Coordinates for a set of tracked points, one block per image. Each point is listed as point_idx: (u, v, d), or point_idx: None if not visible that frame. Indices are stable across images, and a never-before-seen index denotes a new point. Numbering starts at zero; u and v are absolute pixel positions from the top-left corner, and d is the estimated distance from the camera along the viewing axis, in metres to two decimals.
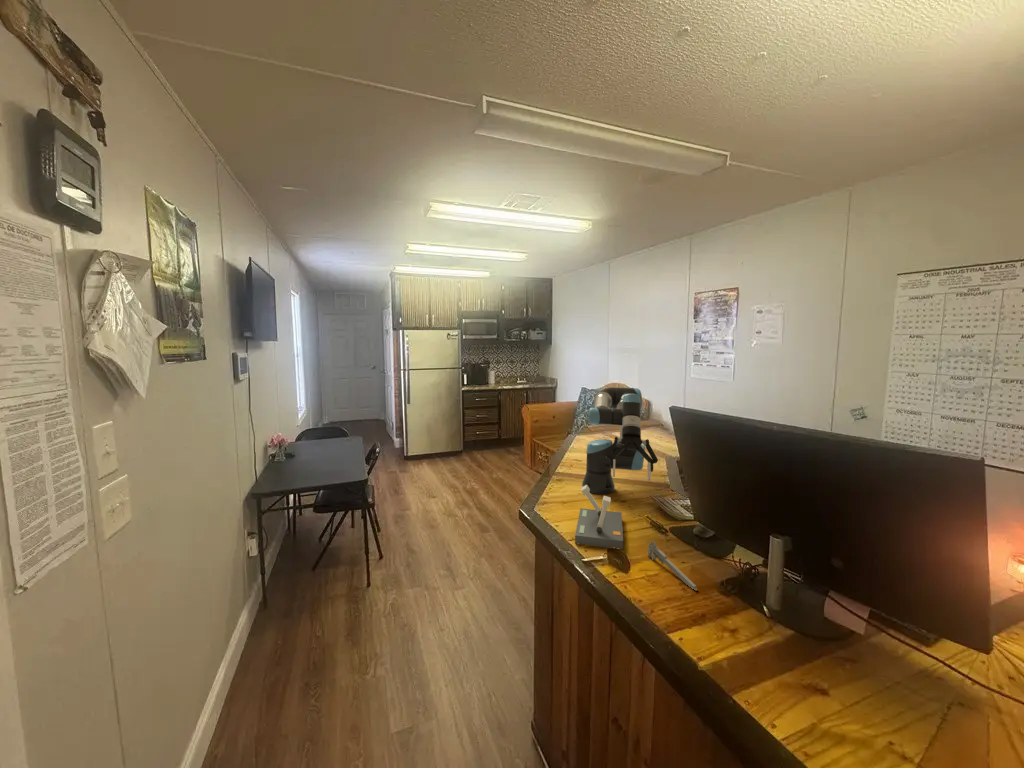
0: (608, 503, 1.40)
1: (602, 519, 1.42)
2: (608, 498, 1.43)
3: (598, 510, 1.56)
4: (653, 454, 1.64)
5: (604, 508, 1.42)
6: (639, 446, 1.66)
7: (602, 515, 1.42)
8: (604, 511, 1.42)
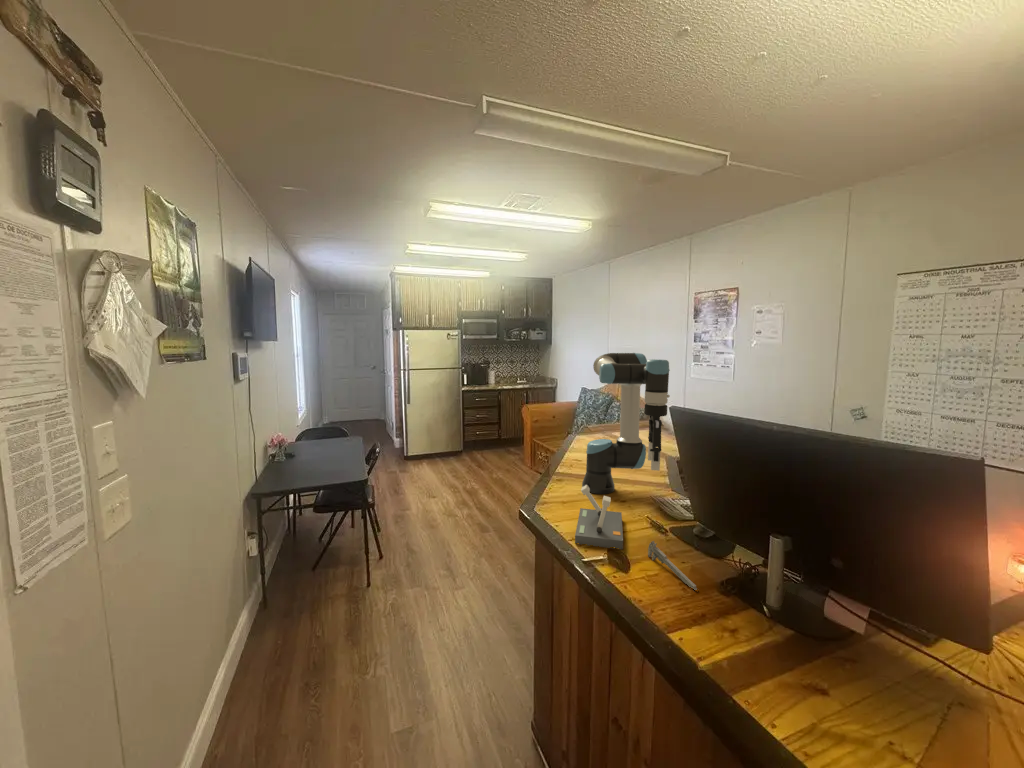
0: (608, 503, 1.40)
1: (602, 519, 1.42)
2: (608, 498, 1.43)
3: (598, 510, 1.56)
4: None
5: (604, 508, 1.42)
6: None
7: (602, 515, 1.42)
8: (604, 511, 1.42)
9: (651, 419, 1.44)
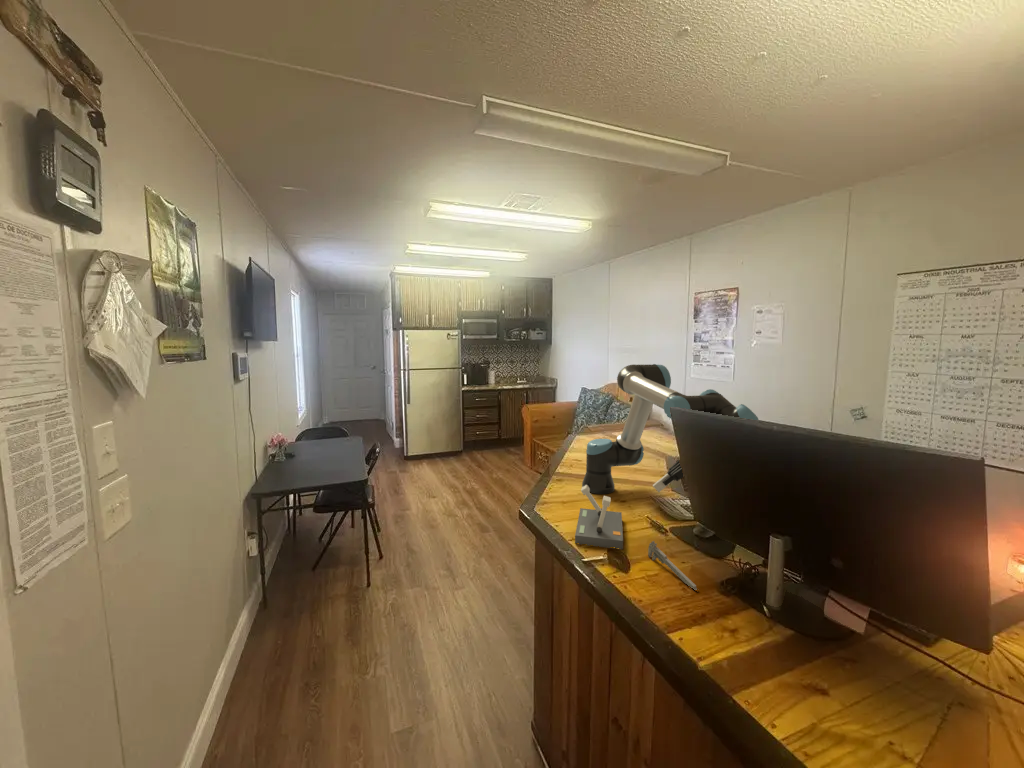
0: (608, 503, 1.40)
1: (602, 519, 1.42)
2: (608, 498, 1.43)
3: (598, 510, 1.56)
4: None
5: (604, 508, 1.42)
6: None
7: (602, 515, 1.42)
8: (604, 511, 1.42)
9: None
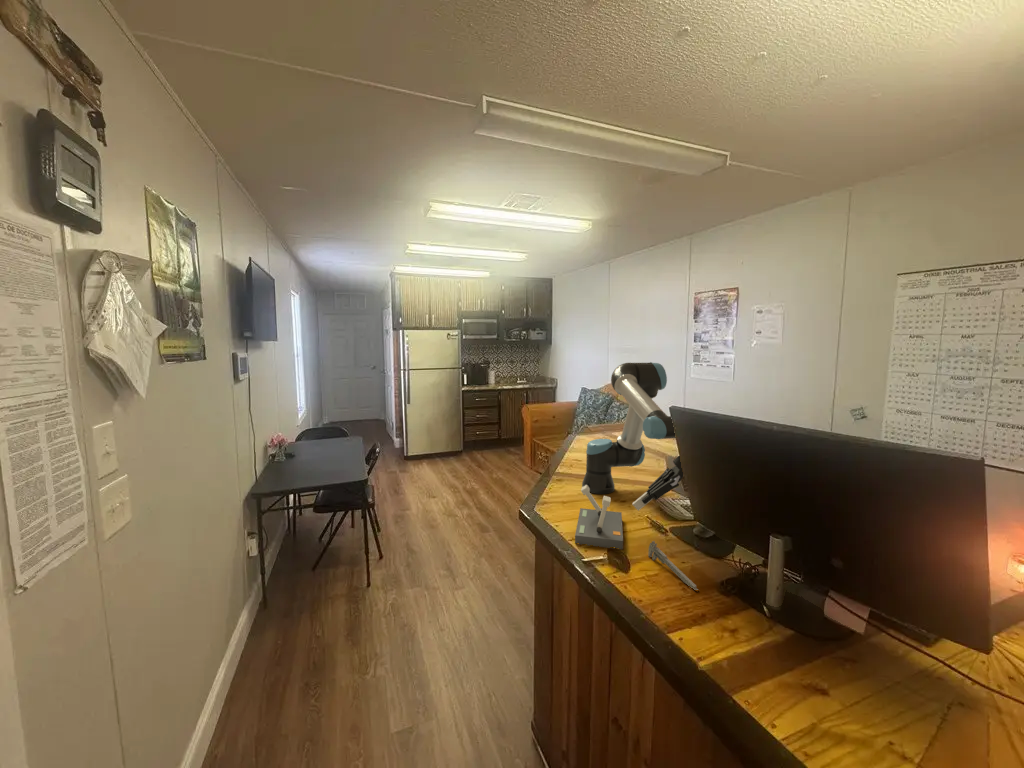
0: (608, 503, 1.40)
1: (602, 519, 1.42)
2: (608, 498, 1.43)
3: (598, 510, 1.56)
4: None
5: (604, 508, 1.42)
6: None
7: (602, 515, 1.42)
8: (604, 511, 1.42)
9: (673, 469, 1.36)
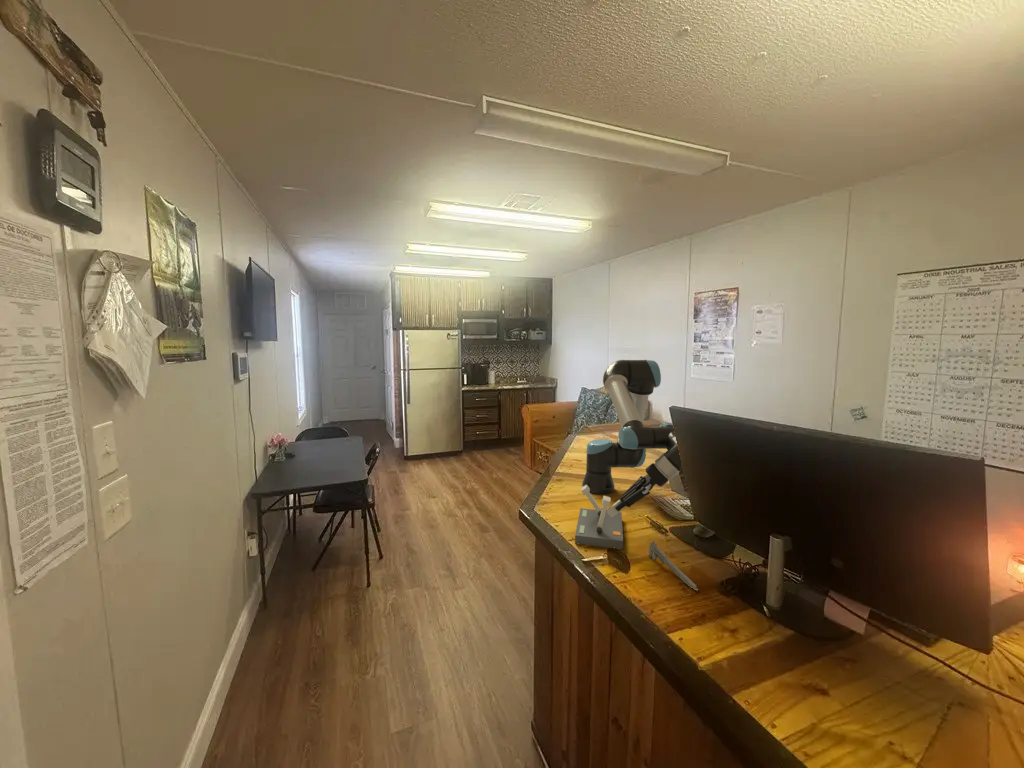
0: (608, 503, 1.40)
1: (602, 519, 1.42)
2: (608, 498, 1.43)
3: (598, 510, 1.56)
4: None
5: (604, 508, 1.42)
6: None
7: (602, 515, 1.42)
8: (604, 511, 1.42)
9: (645, 477, 1.40)
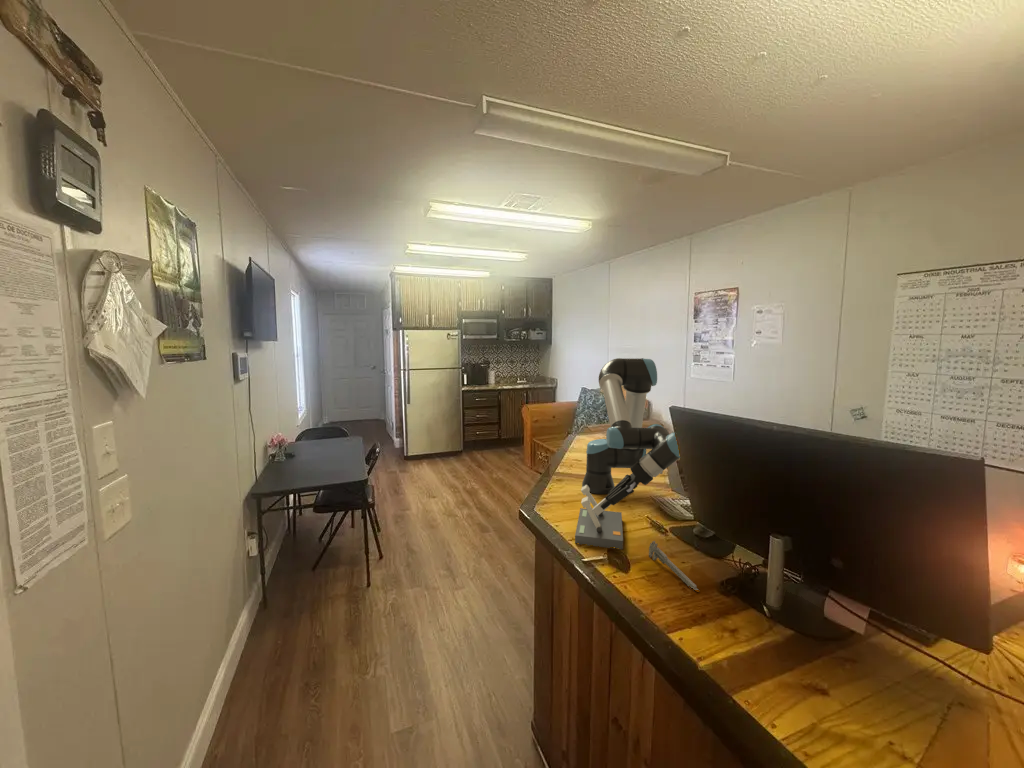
0: (587, 502, 1.42)
1: (594, 519, 1.43)
2: (585, 498, 1.44)
3: None
4: None
5: (588, 509, 1.43)
6: None
7: (591, 516, 1.43)
8: (590, 511, 1.43)
9: (630, 476, 1.41)
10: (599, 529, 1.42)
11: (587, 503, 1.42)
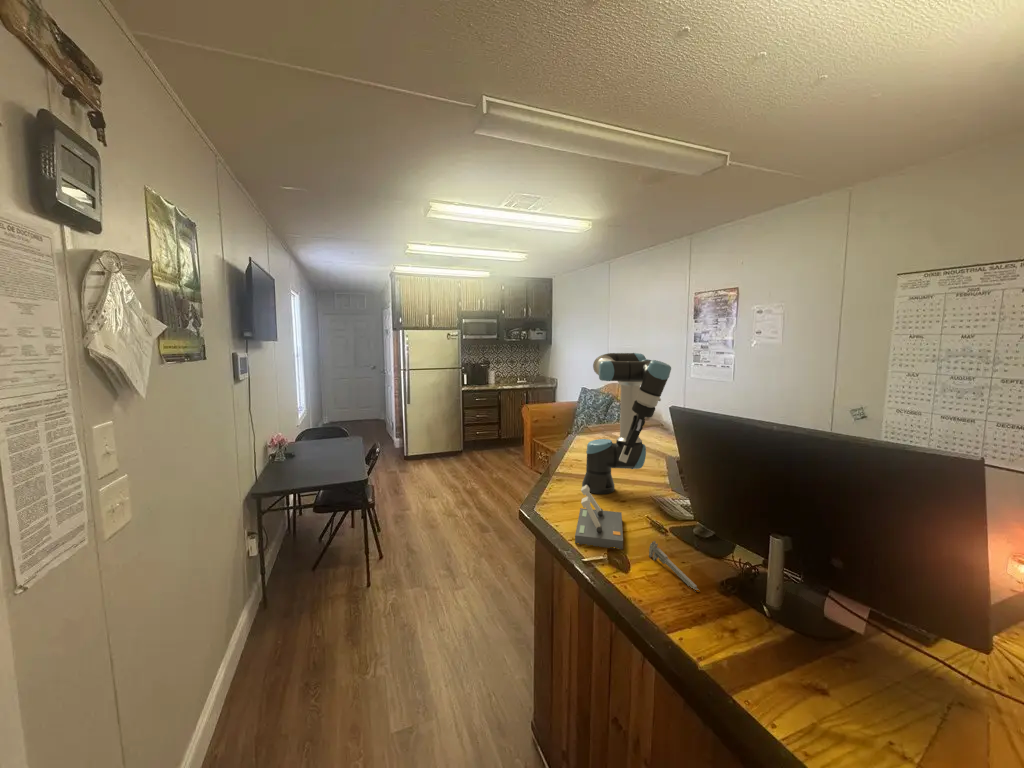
0: (587, 502, 1.42)
1: (594, 519, 1.43)
2: (585, 498, 1.44)
3: (598, 510, 1.56)
4: None
5: (588, 509, 1.43)
6: None
7: (591, 516, 1.43)
8: (590, 511, 1.43)
9: (636, 415, 1.48)
10: (599, 529, 1.42)
11: (587, 503, 1.42)
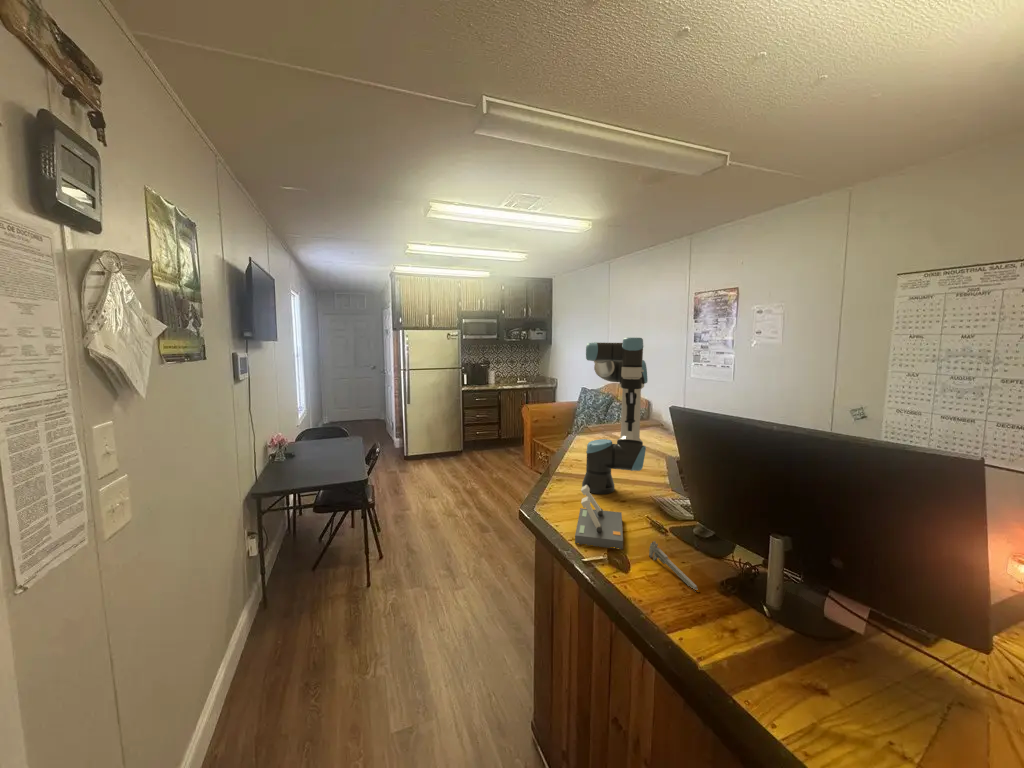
0: (587, 502, 1.42)
1: (594, 519, 1.43)
2: (585, 498, 1.44)
3: (598, 510, 1.56)
4: None
5: (588, 509, 1.43)
6: None
7: (591, 516, 1.43)
8: (590, 511, 1.43)
9: (627, 392, 1.58)
10: (599, 529, 1.42)
11: (587, 503, 1.42)
